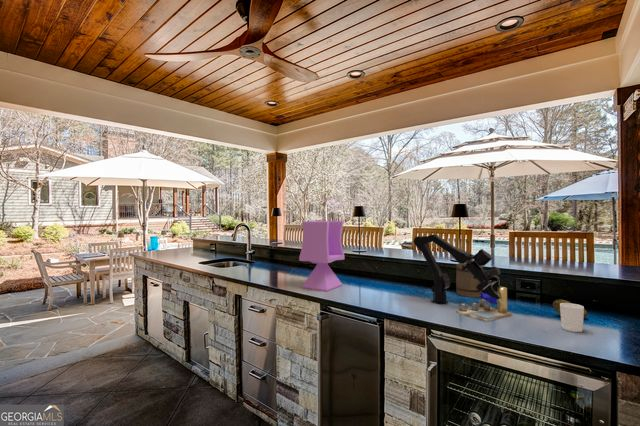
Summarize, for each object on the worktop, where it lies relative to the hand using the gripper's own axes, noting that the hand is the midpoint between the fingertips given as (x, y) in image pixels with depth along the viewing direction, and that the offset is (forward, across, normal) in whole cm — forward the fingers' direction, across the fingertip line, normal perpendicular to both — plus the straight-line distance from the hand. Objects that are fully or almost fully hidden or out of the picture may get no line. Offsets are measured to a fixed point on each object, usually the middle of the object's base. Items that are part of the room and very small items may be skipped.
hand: (501, 297), depth 151 cm
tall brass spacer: (+5, 0, +5) cm, 7 cm away
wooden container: (-12, +30, +24) cm, 40 cm away
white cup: (+25, -2, -13) cm, 28 cm away
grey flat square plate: (+3, -11, +9) cm, 15 cm away
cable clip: (-3, +23, +15) cm, 28 cm away
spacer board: (+1, -5, +11) cm, 12 cm away
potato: (+23, +17, -11) cm, 31 cm away
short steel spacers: (-2, -4, +12) cm, 13 cm away
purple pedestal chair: (-69, -18, +80) cm, 107 cm away
